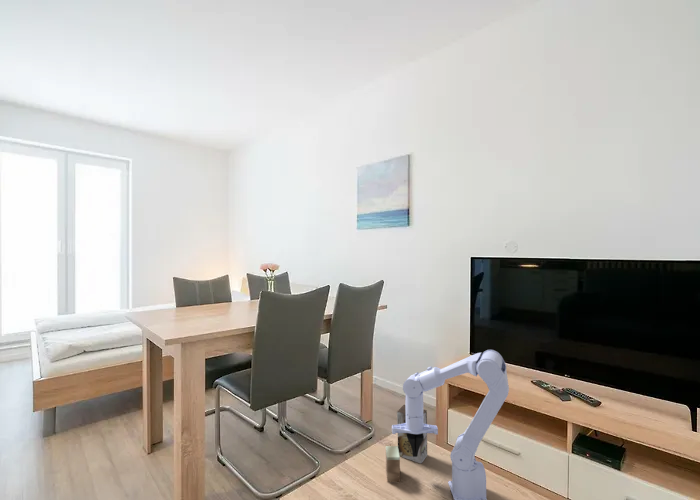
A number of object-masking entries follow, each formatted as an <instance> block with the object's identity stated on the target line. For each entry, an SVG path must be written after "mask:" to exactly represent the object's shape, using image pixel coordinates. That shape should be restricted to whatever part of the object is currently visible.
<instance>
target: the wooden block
mask: <svg viewBox="0 0 700 500" xmlns="http://www.w3.org/2000/svg"><path fill="white" fill-rule="evenodd" d="M400 458H401V456H399V450H398V445H385V473H386V474H385V475H386V482H387V483H401V461H400V460H401V459H400Z"/></svg>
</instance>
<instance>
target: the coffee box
mask: <svg viewBox="0 0 700 500" xmlns="http://www.w3.org/2000/svg"><path fill="white" fill-rule="evenodd" d="M427 415H428V410H427V409H424V408H423V417H424V424H428V418H427V417H428V416H427ZM396 419H397V420H396V422H397V424H396V425H398V424H403V423H406V406H405V404H403V405H402V406H401V407H400V408H399V409H398V410H397V411H396ZM423 435H424V440H423V442H422V443H421V445H420V448H419V451H418V456H417V457H413V454H412V448H411V445H410V443H409V441H408V438H407V434H406V433H397V446H398V450H399V456H400V458H401V457H402V458H404V459H407V460H410V461H413V462H415V463H418V464H422V463H423V462H424V461H425V459H426V458H427V457H428V433H423Z"/></svg>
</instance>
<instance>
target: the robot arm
mask: <svg viewBox="0 0 700 500" xmlns="http://www.w3.org/2000/svg"><path fill="white" fill-rule="evenodd" d="M467 373H468V374H469V375H471V376H473V377H478V376H479V378H480V379H481V380H482V381H483V382H484V383H485V384H486V386H487V388H488V392H487V394H486V395H485V397H484V398H483V399H482V402H481V404H480V406H479V408H478V410H477V411H476V413H475V414H474V416H473V418H472V419H471V421H470V423H469V425H468V426H467V428H465V431H464V432H463V433H461V434H459V435H458V436H457V438H456V441H455V443H454V446H453V448H452V450H451V452H450V455H449V456H450V461H451V480H449V481H448V482H447V484H448V487H449V489H450V492H451V494H452V498H453V500H488V499H487V475H486V469H485V466H484V464H483V463H482V462H481V461H478V460H477V459H476V457H475V455H476V452H477V450H478V447H479V445H480V443H481V442H482V441H483V438H484V436H485V434H486V433H487V431H488V429H489V428H490V426H491V424H492V423H493V422H494V420H495V418H496V416H497V414H499V413H498V412H499V411H500V409H501V408H502V406H503V404H504V403H505V401H506V399H507V398H508V395H509V392H510V387H509V385H510V384H509V379H508V372H507V364H506V361H505V360H504V358H503V356H502V355H501V354H500V353H499V352H498V351H496V350H494V349H487V350H485V351H483V352H477V353H474V354H472V355H470V356H467V357H465V358H463V359H461V360H458V361H456V362H454V363H451V364H449V365H447V366H444V367H442V368H441V367H437V366H434V367H433V366H427V368H426V370H424V371H421V372H415V373H414V374H411V375H410V376H408V377H407V379H405V381H403V385H402V390H403V392H404V394H405V404H404V405H405V406H406V423H403V424H398V425H397V424H392V425H391V433H392V435H396V434H398V433H406V434H407V438H408V441H409V443H410V445H411V448H412V454H413V457H417V456H418V451H419V448H420V445H421V443H422V442H423V440H424V435H423V433H427V434H434V435H439V433H438V432H439V429H438V426H437V425H436V424H435V425H433V424H428V423H427V424H424V417H423V409H424V393H425V392H429V391H431V390H433V389H438V388H439V387H442V386H444V384H445V383H446V380H448V379H452V378H454V377H458V376H460V375H464V374H467Z"/></svg>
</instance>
